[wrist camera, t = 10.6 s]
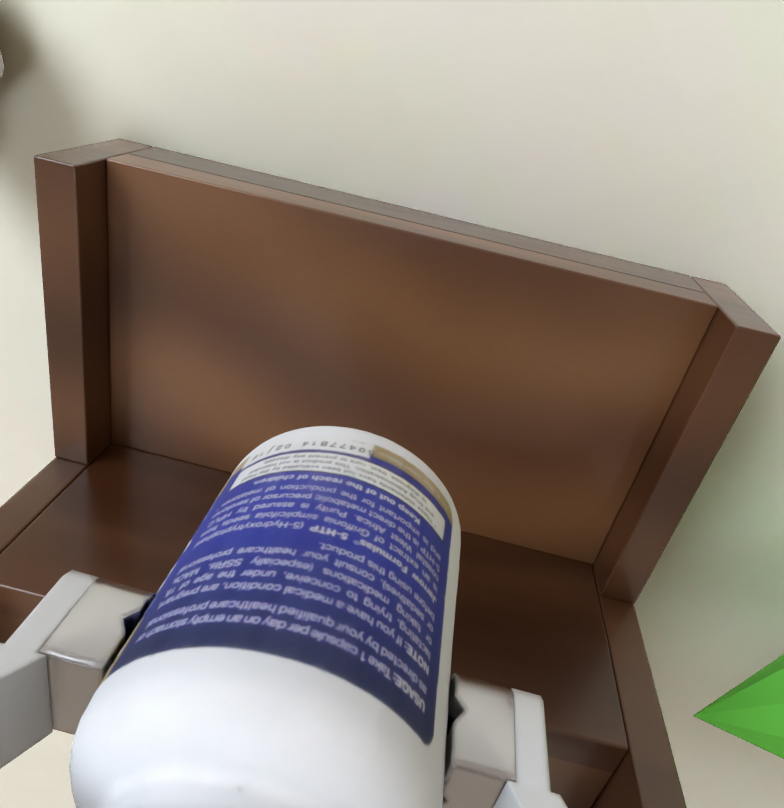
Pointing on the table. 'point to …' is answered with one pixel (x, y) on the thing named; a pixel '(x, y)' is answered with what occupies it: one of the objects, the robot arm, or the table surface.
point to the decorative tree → (753, 709)
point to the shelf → (385, 411)
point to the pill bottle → (290, 643)
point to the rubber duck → (1, 65)
